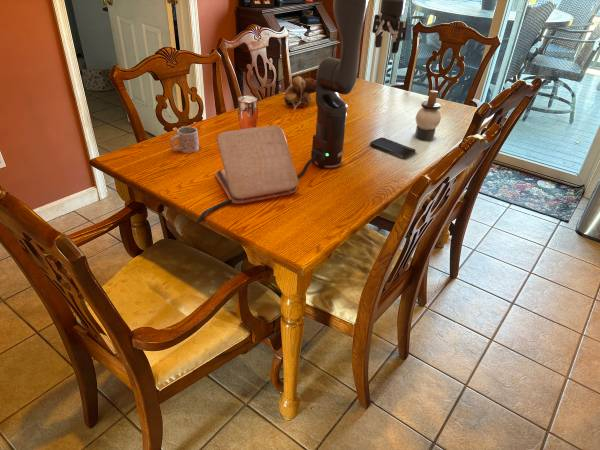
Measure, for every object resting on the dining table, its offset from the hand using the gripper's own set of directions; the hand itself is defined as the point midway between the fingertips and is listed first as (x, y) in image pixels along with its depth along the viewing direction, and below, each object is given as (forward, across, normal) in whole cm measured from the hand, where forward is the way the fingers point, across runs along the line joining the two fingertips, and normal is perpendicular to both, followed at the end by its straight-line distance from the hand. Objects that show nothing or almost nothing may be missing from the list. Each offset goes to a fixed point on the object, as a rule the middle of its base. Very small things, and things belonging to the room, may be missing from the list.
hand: (385, 50), depth 157 cm
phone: (+30, +16, -5) cm, 34 cm away
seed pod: (+30, -38, -11) cm, 50 cm away
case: (+30, +16, -60) cm, 69 cm away
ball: (+23, +13, +14) cm, 30 cm away
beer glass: (+30, -14, -47) cm, 58 cm away
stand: (+30, +13, +14) cm, 36 cm away
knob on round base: (+18, +13, +14) cm, 26 cm away
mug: (+30, -16, -70) cm, 78 cm away
